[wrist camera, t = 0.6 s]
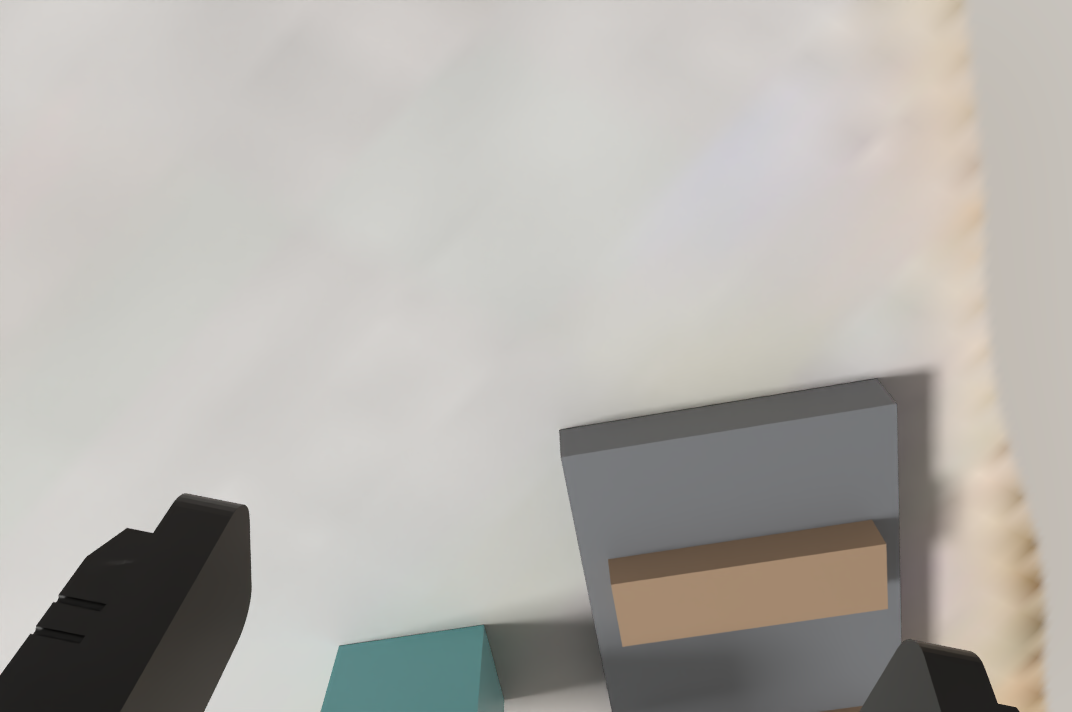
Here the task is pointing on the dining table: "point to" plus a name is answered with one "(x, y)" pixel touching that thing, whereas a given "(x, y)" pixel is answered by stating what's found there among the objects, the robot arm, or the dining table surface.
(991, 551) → the dining table surface
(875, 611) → the display stand
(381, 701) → the long teal prism
